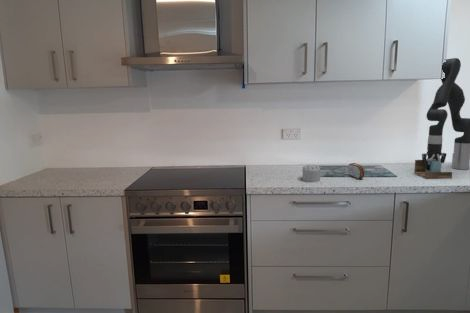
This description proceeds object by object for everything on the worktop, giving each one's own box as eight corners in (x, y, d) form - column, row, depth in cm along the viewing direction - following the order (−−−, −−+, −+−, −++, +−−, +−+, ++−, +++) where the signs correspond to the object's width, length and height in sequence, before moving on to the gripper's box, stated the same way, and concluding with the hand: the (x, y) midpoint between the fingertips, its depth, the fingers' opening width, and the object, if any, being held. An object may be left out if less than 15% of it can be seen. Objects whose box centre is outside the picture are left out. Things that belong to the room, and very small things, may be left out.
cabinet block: (425, 172, 206) (426, 159, 205) (432, 172, 206) (433, 159, 205) (432, 175, 199) (433, 162, 197) (440, 174, 199) (441, 161, 197)
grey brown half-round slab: (364, 180, 199) (365, 166, 197) (359, 180, 198) (360, 166, 197) (351, 174, 213) (352, 161, 212) (347, 174, 213) (347, 162, 211)
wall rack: (414, 173, 209) (415, 159, 208) (438, 173, 209) (439, 159, 208) (426, 179, 196) (427, 164, 195) (451, 178, 196) (453, 163, 195)
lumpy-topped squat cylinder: (318, 177, 209) (318, 163, 208) (321, 182, 197) (321, 168, 195) (301, 177, 211) (301, 163, 209) (303, 182, 198) (303, 168, 196)
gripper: (443, 141, 203) (440, 168, 206) (419, 142, 203) (417, 169, 206) (450, 143, 195) (448, 171, 198) (426, 143, 196) (424, 171, 199)
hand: (432, 169), depth 202 cm, fingers open, 5 cm apart
